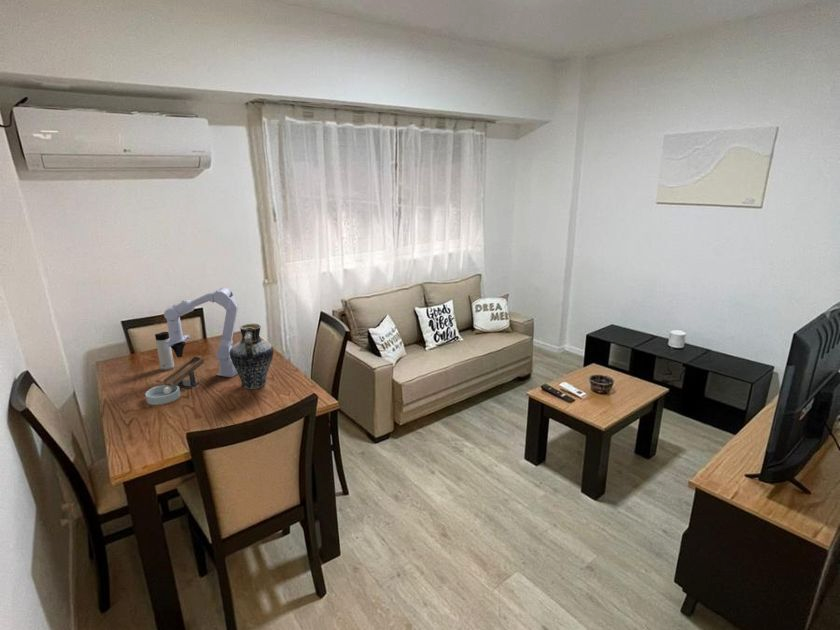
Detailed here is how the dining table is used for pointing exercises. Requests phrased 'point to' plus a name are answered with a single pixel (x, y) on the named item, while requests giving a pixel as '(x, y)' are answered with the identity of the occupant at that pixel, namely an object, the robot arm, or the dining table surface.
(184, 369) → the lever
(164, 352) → the travel mug
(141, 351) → the dining table surface
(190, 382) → the stand
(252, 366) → the jug
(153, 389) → the bowl
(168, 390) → the ball
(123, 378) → the dining table surface
